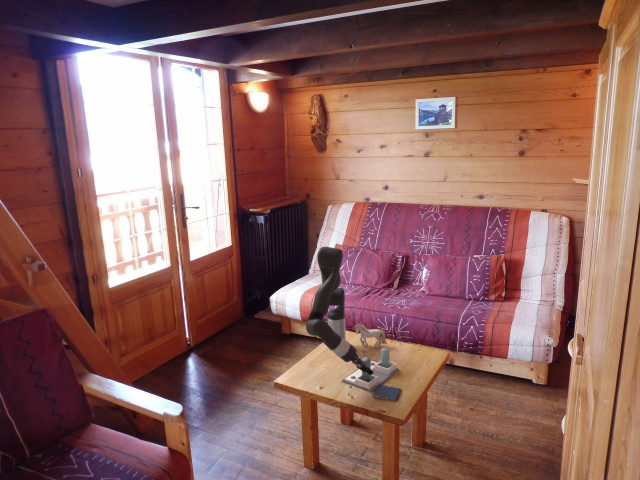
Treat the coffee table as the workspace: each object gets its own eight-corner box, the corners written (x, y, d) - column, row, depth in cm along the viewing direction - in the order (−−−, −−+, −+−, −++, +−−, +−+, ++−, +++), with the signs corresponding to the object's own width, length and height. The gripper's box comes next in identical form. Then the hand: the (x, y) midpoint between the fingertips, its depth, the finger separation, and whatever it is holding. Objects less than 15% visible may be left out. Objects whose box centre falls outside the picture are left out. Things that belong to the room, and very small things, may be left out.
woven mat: (396, 404, 190) (396, 399, 190) (372, 399, 195) (372, 395, 194) (402, 391, 200) (402, 387, 199) (379, 387, 204) (379, 383, 203)
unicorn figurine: (349, 346, 247) (348, 322, 244) (383, 342, 250) (383, 319, 247) (352, 351, 240) (351, 327, 237) (387, 347, 243) (387, 324, 240)
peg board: (342, 381, 209) (341, 359, 207) (370, 361, 227) (370, 341, 225) (371, 392, 199) (370, 369, 197) (398, 370, 217) (398, 349, 215)
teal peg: (360, 380, 205) (359, 360, 203) (365, 377, 208) (364, 356, 206) (367, 383, 202) (367, 362, 200) (372, 379, 205) (372, 359, 203)
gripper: (353, 349, 193) (381, 372, 198) (345, 336, 207) (371, 358, 211) (341, 362, 193) (369, 385, 198) (334, 348, 207) (360, 370, 211)
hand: (370, 371), depth 205 cm, fingers closed on teal peg, 4 cm apart
